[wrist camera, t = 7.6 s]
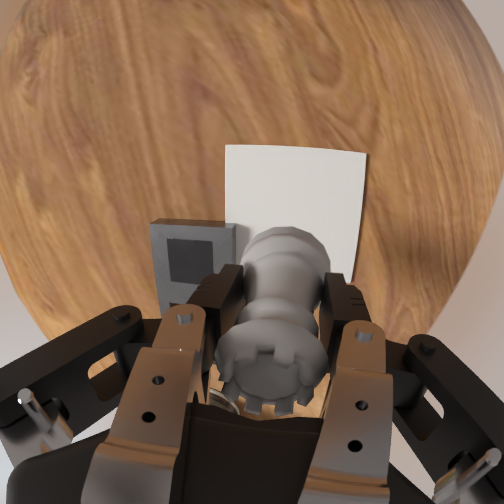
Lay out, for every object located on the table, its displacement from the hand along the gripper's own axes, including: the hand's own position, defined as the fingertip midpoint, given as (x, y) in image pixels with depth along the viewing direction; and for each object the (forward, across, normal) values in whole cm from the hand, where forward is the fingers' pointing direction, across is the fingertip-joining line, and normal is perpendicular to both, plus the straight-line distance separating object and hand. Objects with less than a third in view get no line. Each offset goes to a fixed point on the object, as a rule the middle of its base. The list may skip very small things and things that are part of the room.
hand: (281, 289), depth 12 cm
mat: (+14, 0, 0) cm, 14 cm away
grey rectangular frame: (+14, +9, +9) cm, 19 cm away
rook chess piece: (+3, 0, 0) cm, 3 cm away
